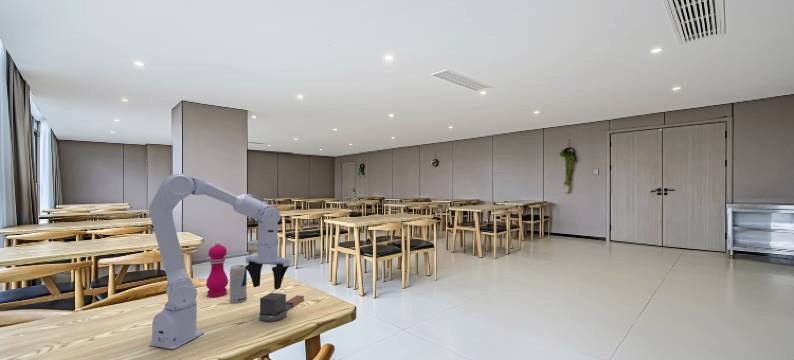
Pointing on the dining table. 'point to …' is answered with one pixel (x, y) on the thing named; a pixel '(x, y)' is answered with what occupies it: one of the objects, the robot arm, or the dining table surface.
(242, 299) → the energy drink
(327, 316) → the dining table surface
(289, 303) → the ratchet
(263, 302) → the dark grey brushed cube
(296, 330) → the dining table surface
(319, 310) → the dining table surface
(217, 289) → the pepper mill
